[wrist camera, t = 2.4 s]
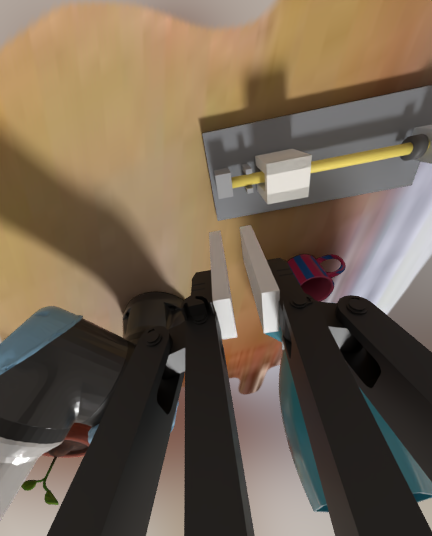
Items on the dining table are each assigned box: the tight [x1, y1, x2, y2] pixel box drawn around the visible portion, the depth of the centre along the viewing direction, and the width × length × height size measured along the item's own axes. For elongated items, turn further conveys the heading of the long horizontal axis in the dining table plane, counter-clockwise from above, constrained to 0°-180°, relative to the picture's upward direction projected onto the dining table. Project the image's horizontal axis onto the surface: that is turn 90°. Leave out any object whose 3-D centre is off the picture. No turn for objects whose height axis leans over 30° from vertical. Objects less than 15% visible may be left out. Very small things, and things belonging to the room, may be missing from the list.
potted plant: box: [21, 423, 91, 505], centre depth 55 cm, size 18×22×25 cm
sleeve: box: [255, 149, 312, 204], centre depth 27 cm, size 5×5×6 cm
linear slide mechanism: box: [202, 85, 432, 221], centre depth 28 cm, size 30×12×6 cm, turn 100°
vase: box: [265, 325, 432, 512], centre depth 40 cm, size 17×17×30 cm
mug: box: [287, 254, 345, 302], centre depth 39 cm, size 7×10×7 cm
